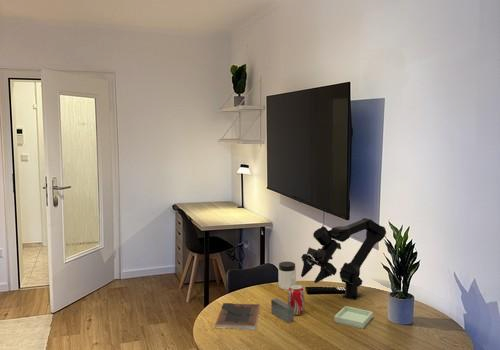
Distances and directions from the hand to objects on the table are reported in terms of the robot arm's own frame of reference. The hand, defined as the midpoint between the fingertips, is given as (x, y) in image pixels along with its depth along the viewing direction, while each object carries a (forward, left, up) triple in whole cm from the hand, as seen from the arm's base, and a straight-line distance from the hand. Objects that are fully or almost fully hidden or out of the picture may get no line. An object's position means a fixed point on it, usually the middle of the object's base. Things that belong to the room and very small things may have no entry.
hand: (308, 279), depth 203 cm
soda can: (+6, -3, -14) cm, 15 cm away
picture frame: (+23, -22, -15) cm, 35 cm away
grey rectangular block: (+13, -6, -14) cm, 20 cm away
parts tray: (0, +21, -14) cm, 25 cm away
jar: (-19, -21, -14) cm, 32 cm away
